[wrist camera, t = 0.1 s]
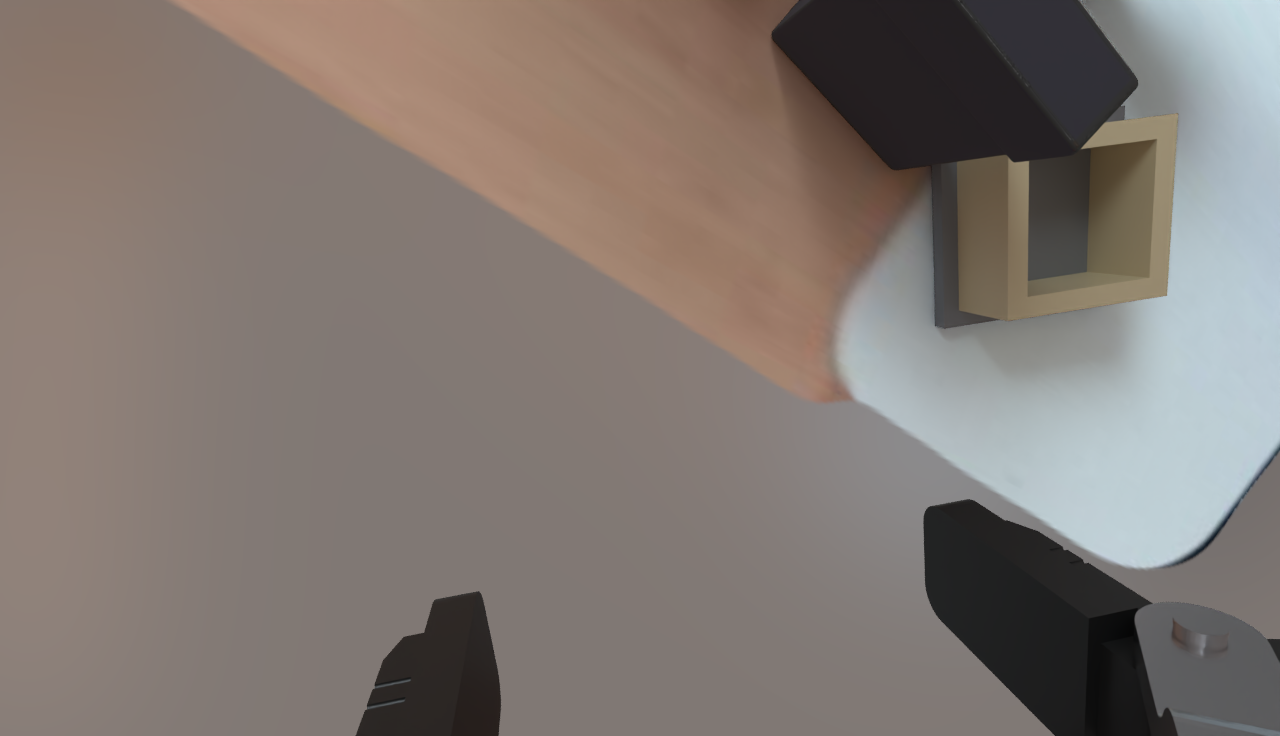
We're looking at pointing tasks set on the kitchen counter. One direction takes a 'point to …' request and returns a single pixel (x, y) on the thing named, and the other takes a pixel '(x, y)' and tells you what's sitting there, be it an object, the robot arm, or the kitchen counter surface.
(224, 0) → the kitchen counter surface
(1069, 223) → the bulb holder
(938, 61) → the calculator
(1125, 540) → the kitchen counter surface
